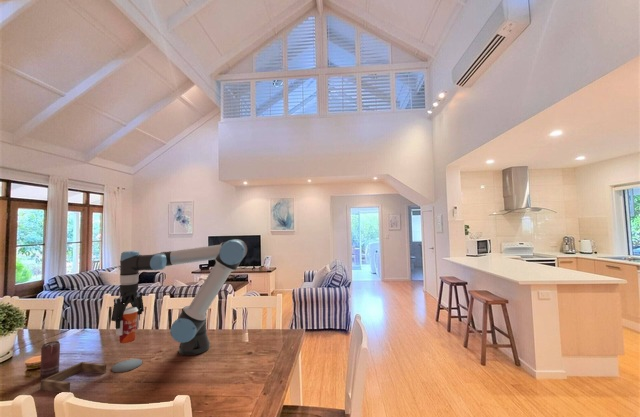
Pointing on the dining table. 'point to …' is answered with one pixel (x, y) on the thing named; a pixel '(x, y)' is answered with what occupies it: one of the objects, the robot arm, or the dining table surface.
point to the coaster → (127, 365)
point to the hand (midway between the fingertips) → (127, 331)
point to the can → (50, 359)
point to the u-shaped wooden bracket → (56, 380)
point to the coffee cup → (129, 325)
